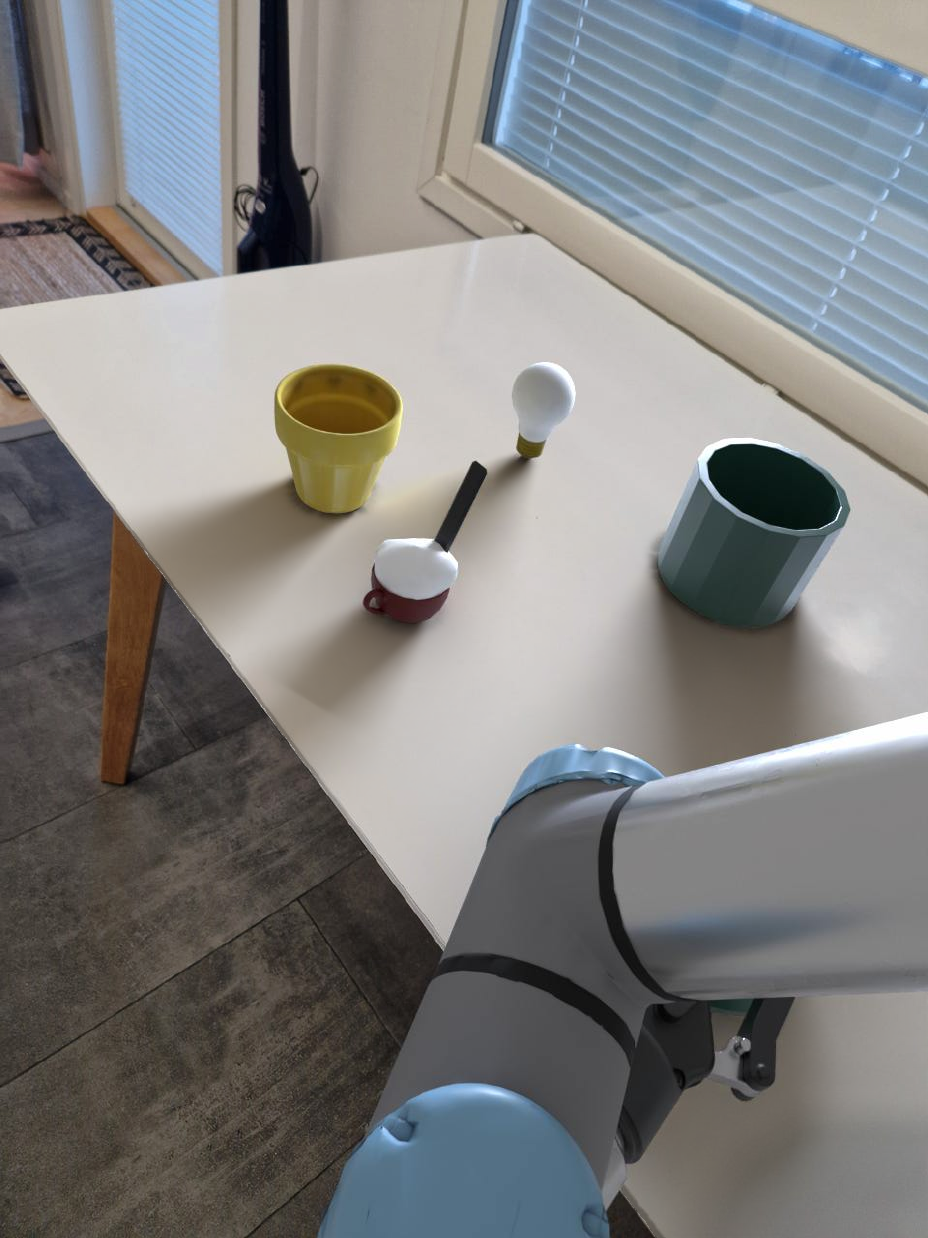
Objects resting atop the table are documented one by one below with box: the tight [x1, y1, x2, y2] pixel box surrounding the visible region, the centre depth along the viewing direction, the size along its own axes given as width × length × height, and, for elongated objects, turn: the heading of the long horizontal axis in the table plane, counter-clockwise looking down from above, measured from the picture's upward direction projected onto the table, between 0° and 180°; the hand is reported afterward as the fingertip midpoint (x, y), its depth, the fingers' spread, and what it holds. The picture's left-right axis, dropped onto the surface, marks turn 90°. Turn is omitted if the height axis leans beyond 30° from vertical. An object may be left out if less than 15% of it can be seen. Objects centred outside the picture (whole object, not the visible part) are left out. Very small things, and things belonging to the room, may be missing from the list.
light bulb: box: [511, 361, 576, 460], centre depth 82 cm, size 6×6×10 cm
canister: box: [656, 437, 851, 629], centre depth 74 cm, size 13×13×10 cm
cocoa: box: [362, 460, 488, 624], centre depth 65 cm, size 10×6×12 cm, turn 109°
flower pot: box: [273, 363, 404, 514], centre depth 74 cm, size 10×10×10 cm
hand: (793, 793), depth 52 cm, fingers closed on lid, 3 cm apart
